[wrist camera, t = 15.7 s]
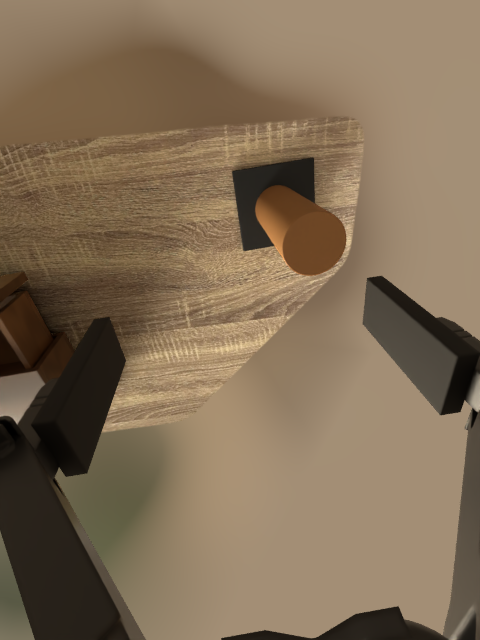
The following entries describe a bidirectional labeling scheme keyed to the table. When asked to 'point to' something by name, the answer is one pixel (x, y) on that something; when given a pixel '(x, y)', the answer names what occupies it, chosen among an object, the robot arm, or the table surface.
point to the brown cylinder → (301, 230)
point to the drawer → (20, 327)
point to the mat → (258, 180)
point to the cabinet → (33, 378)
